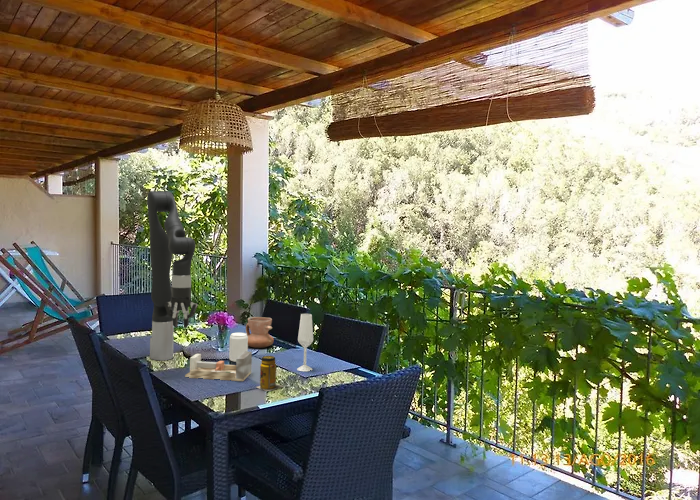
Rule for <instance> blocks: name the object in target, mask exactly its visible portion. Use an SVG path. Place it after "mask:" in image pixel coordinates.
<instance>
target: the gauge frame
mask: <svg viewBox="0 0 700 500" xmlns="http://www.w3.org/2000/svg"><path fill="white" fill-rule="evenodd" d="M252 357H253V351H245V352H243V353H242V354H241V355H240V356H239V357H238V358H237V359H236V362H235V364H236V365H235V364H224V369H222V370H221V371H215V368H200V369H199V370H190V369H189V371H188V372H187V373H186V374H184V378H185V377H189V378H188V379H198V378H203V379H202V380H214V379H220V380H219V381H230V380H231V381H232V382H244V381H245V380H246V379H247V378H248V377H249V376H250V375H251V374H252V363H253V362H252V360H253V359H252Z"/></svg>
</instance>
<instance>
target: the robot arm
mask: <svg viewBox="0 0 700 500" xmlns="http://www.w3.org/2000/svg"><path fill="white" fill-rule="evenodd" d="M175 199H176V198H175V196H174V194H173V193H172V192H171V191H169V190H167V191H166V190H150V191H149V192H148V193H147V198H146V202H147V203H146V204H147V214H148V224H149V254H150V255H149V256H150V264H151V265H150V266H151V275H152V278H151V279H152V281H151V295H150V298H151V301H152V303H153V309H152V310H153V311H152V316H151V317H152V319H151V325H152V326H151V337H150V339H149V359H151V360H155V361H168V360H171V359H173V358H174V334H175V333H174V330H175V329H174V328H178V327H179V326H178V324H179V318H178V317H179V312H180V311H181V312H182V314H183V318H184V319H183V329H186V328H188V327H189V325H190V318H193V317H194V315H195V313H196V310H197V308H198V306H199V304H198V303H197V302H196V303H195V302H193V301H192V295H191V294H192V291H191V290H192V277H191V271H192V270H191V268H192V267H191V265H192V261H193V257H194V254H195V251H196V241H195V239H193V237H189V236H188V237H187V236H186V230H185V228H184V227H183V224H182V222H181V218H180V216H179V215H180V214H179V211H178V208H177V207H178V205H177V203H176V202H177V201H176V200H175ZM166 212H168V215H167V217H166V218H165V221H164V225H163V226H164V228H163V226H162V224H161V223H160V220H159V217H158V213H166ZM173 255H183V257H182V258H180V259H176V260H174V261H173ZM172 261H173V262H172ZM171 267H172V278H170V277H171V276H170V274H171ZM170 279H171V281H170ZM189 307H190V308H191V309H189Z"/></svg>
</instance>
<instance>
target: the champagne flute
mask: <svg viewBox="0 0 700 500" xmlns="http://www.w3.org/2000/svg"><path fill="white" fill-rule="evenodd" d="M313 331H314V329H313V315H312V314H311V313H300V320H299V329H298V336H297V341H298V343H299V344H300V345H301V347H303V364H302V365H301V366H299V367H297V368H296V370H297V371H298V372H299V371H300V372H311V371H313V368H312V367H310V366H308V364H307V351H308V350H307V349H308V347H310V346H311V344H312V343H313V341H314V332H313ZM310 370H311V371H310Z"/></svg>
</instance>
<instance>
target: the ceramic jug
mask: <svg viewBox="0 0 700 500" xmlns="http://www.w3.org/2000/svg"><path fill="white" fill-rule="evenodd" d="M272 323H273V319H272V318H271V317H264V316H263V317H262V316H251V317H248V318H247V323H246V325H245V333H246V334H247V336H248V347H250V348H255V349H264V348H268V347H270V346H271V345H273V344H274V342H275V341H274V340H275V339H274V337H273V336H272V335H270V333H269V331H270V330H272V329H273V327H272Z"/></svg>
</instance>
